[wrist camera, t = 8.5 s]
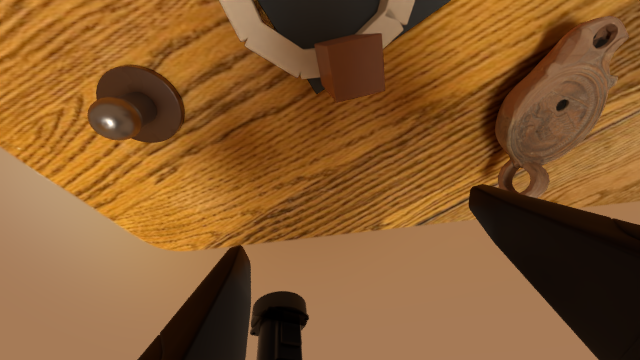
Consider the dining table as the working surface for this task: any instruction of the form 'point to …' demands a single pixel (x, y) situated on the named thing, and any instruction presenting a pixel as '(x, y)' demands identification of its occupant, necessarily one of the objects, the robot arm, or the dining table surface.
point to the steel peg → (136, 106)
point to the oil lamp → (558, 102)
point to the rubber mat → (332, 20)
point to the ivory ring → (326, 48)
